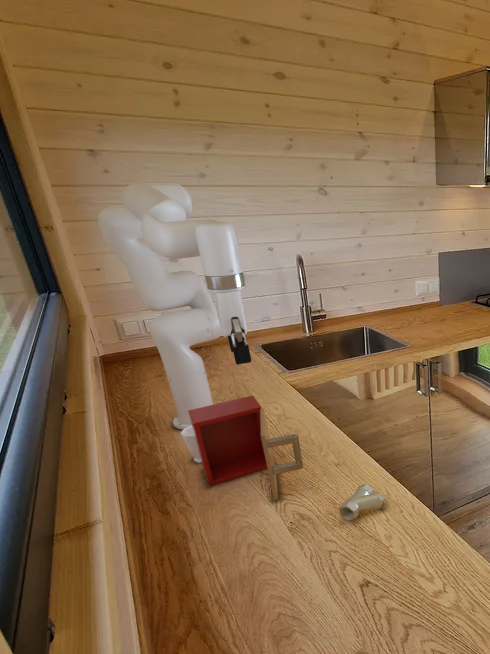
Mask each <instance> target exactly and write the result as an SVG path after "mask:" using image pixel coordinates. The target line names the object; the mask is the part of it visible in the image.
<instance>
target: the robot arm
mask: <svg viewBox="0 0 490 654" xmlns="http://www.w3.org/2000/svg"><path fill="white" fill-rule="evenodd" d="M121 202H122V204H117V205H112V206H108V207H105V208H104V209H102V210H101V211H100V212H99V213H98V215H97V216H98V218H97V223H98V226H99V229H100V232H101V235H102V236H103V238H104V241H105V242H106V244H107V245H108V247H109V248H110V249H111V250H112V252H113V253H114V254H115V255H116V256H117V257H118V259H119V260H120V261H121V263H122V264H123V265H124V267H125V269H126V271H127V273H128V276H129V277H130V280H131V282H132V283H133V286H134V288H135V289H136V292H137V294H138V297H139V298H140V300H141V302H142V303H143V305H144V307H146V309H148V310H149V311H152V312H162V311H169V310H173V309H179V308H180V309H181V308H185V307H189V309H183V310H178V311H173V312H168V313H164V314H161V315H158V316H156V317H155V318H153V319H152V320H151V322H150V323H149V333H150V336H151V338H152V341H153V342H154V344H155V346H156V349H157V350H158V353H159V356H160V359H161V361H162V365H163V368H164V372H165V376H166V379H167V383H168V386H169V390H170V393H171V397H172V401H173V404H174V408H175V412H176V416H175V417H174V418H173V420H172V424H173V427H174V428H176V429H179V430H183V429H184V428H187V427H189V426H192V423H191V420H190V416H189V412H188V410H193V409H197V408H201V407H205V406H210V405H214V401H213V397H212V392H211V389H210V384H209V380H208V375H207V372H206V367H205V364H204V360H203V358H202V357H201V356H200V355H199V354H198V353H197V352H195V351H193V350H192V349H191V347H193V346H195V345H199V344H202V343H206V342H209V341H213V340H217V339H219V338H220V337H222V336H223V337H224V338H225V339H228V345H229V348H230V352H231V353H233V357H234V362H235V364H236V365H244V364H249V363H250V364H251V363H252V357H251V351H250V345H249V344H248V341H247V337H246V336H247V334H248V326H247V319H246V312H245V308H244V302H243V297H242V292H241V291H242V290H244V289H246V283H245V277H244V271H243V265H242V260H241V257H240V250H239V246H238V239H237V236H236V230H235V228H234V226H233V225H232V223H230V222H227V221H218V220H216V219H190V216H191V215H192V211H193V200H192V197H191V195H190V193H189V192H188V190H187V189H186V188H185V187H184V186H182V185H181V184H179V183H177V182H173V181H155V182H154V181H153V182H152V181H150V182H147V181H146V182H142V181H141V182H134V183H131V184H128V185H126V187H125V188H123V190H122V193H121ZM189 219H190V220H189ZM139 240H145V242H146V244H147V245H148V246H147V245H145V244H144V243H142V242H140V241H139ZM161 257H163V258H166V259H170V260H181V259H189V258H196V257H200V262H201V266H202V271H203V275H204V279H205V280H203V278H201V276H200V275H199V274H198V273H196V272H194V271H191V270H180V271H179V270H178V271H172V272H170V271H169V270H167V269H166V267H165V264H164V262H163V260H162V258H161ZM204 281H205V282H204ZM210 293H213V299H214V301H213V299H212V296H211V294H210Z"/></svg>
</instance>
